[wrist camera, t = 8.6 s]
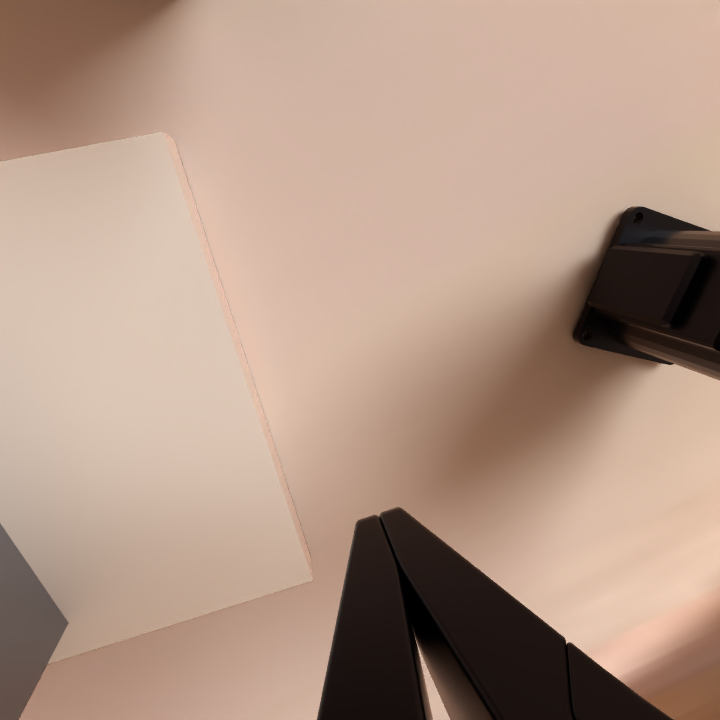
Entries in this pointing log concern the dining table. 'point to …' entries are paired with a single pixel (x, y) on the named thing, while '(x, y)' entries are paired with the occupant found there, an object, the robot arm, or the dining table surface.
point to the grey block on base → (123, 416)
